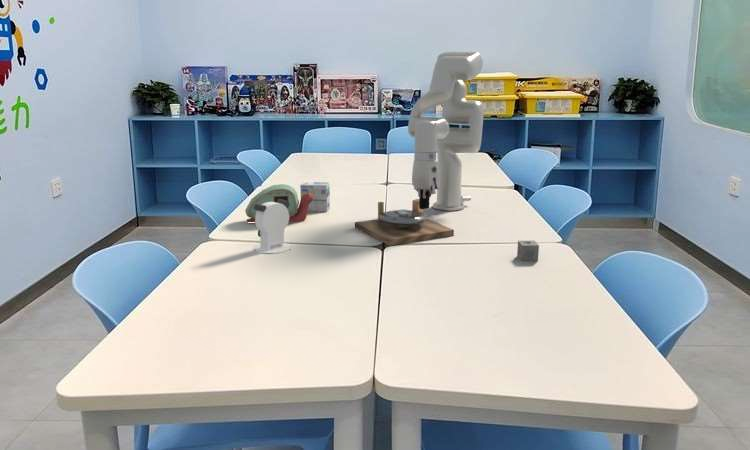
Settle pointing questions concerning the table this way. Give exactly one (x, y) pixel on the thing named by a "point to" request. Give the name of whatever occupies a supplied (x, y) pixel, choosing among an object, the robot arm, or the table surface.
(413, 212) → the flange plate
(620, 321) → the table surface
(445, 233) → the pivot base
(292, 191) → the toy snail
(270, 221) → the white mount stand
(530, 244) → the dice cube
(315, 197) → the light bulb box
